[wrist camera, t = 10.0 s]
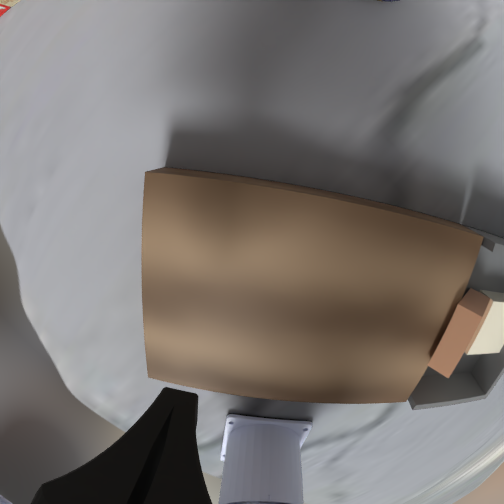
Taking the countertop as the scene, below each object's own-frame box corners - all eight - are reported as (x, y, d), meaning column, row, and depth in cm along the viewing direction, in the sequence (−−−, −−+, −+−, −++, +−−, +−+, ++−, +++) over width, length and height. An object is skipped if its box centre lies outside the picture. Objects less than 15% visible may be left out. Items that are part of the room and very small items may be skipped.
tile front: (446, 340, 19) (464, 351, 18) (427, 365, 16) (448, 378, 15) (470, 287, 18) (490, 298, 16) (458, 303, 15) (482, 317, 13)
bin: (469, 373, 21) (485, 398, 18) (398, 377, 21) (412, 410, 18) (527, 247, 17) (555, 263, 13) (461, 224, 17) (495, 242, 13)
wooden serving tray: (395, 377, 21) (406, 401, 19) (159, 352, 21) (148, 377, 18) (459, 223, 17) (483, 236, 14) (164, 167, 16) (145, 171, 14)
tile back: (466, 354, 18) (456, 341, 19) (499, 352, 18) (489, 340, 19) (493, 301, 16) (480, 289, 18) (523, 304, 16) (511, 294, 18)
